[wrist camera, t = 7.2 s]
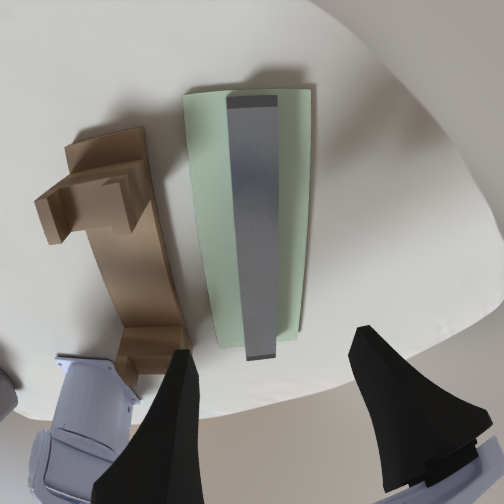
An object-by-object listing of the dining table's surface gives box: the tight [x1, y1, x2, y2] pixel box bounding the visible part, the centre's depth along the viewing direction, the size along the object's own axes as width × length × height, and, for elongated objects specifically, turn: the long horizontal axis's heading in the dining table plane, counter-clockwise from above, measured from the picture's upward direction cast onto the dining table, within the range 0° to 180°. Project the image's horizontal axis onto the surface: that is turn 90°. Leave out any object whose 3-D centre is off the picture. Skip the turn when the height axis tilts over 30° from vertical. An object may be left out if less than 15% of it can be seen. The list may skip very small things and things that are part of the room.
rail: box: [226, 95, 279, 361], centre depth 18 cm, size 19×2×2 cm, turn 2°
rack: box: [34, 127, 192, 386], centre depth 17 cm, size 19×5×5 cm, turn 2°
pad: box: [182, 89, 311, 348], centre depth 19 cm, size 20×7×1 cm, turn 2°
